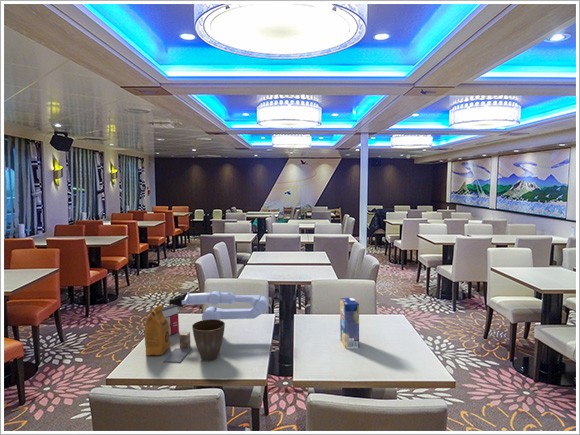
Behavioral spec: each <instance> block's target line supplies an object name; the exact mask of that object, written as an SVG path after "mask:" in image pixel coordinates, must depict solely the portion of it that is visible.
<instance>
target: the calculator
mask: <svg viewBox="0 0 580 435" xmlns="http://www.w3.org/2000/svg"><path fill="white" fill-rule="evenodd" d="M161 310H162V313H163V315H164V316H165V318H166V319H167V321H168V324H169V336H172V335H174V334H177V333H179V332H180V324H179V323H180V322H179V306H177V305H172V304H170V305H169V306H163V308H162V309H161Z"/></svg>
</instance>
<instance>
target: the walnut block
mask: <svg viewBox="0 0 580 435" xmlns="http://www.w3.org/2000/svg"><path fill="white" fill-rule="evenodd" d="M178 338H179V349H190V347H191V332H187V331H185V332H184V331H182V332H181V333H179V337H178Z"/></svg>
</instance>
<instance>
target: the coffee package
mask: <svg viewBox="0 0 580 435" xmlns="http://www.w3.org/2000/svg"><path fill="white" fill-rule="evenodd" d="M162 308H164V306H163V304H160V305H157V306H156V307H155V308H153V310H151V312H150V314H149V316H148V318H147V319H146V321H145V325H144V345H145V356H147V357H149V356H160V355H161V356H162V355H163V354H164V353H165V352H166V351H167V350H168V348H169V347H170V346H171V341H170V340H171V339H170V335H169V324H168V321H167V319H166V318H165V316H164V315H163V313H162V310H161V309H162Z"/></svg>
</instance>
